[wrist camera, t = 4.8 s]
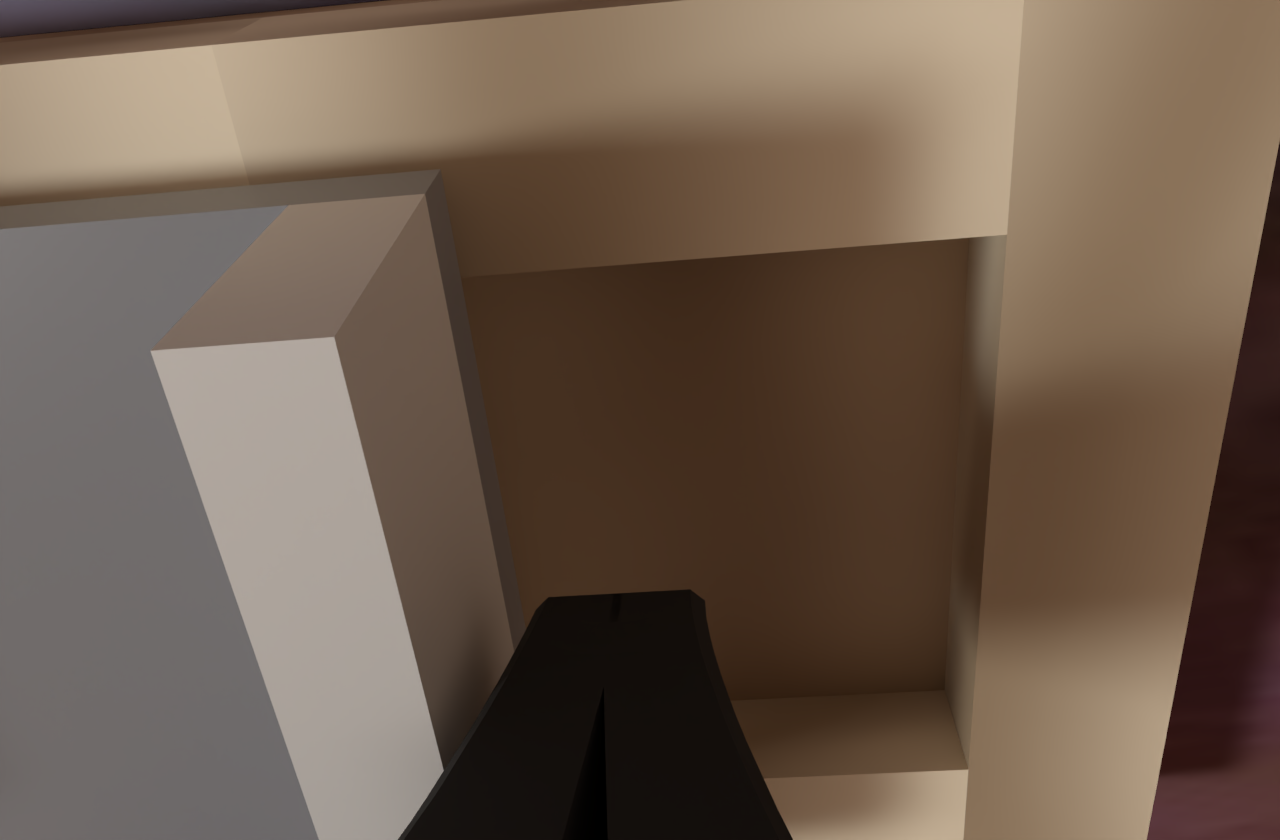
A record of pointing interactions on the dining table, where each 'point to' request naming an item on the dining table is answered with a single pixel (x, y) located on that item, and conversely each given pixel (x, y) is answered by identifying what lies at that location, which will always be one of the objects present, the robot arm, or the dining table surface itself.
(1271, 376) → the dining table surface
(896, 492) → the board
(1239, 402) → the dining table surface
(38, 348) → the cover
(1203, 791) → the dining table surface
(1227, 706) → the dining table surface
